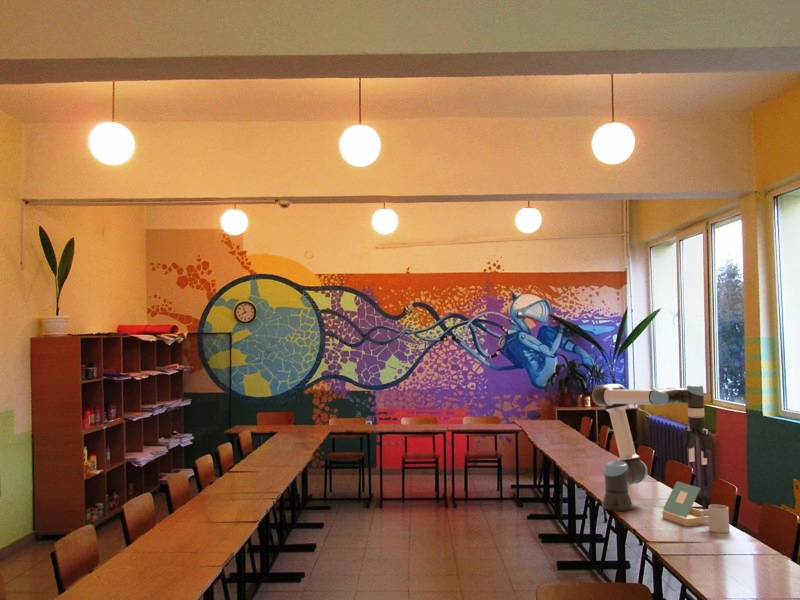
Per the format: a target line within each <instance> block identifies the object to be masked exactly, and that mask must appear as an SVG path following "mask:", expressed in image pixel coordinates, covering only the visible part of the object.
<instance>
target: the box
mask: <svg viewBox="0 0 800 600" xmlns="http://www.w3.org/2000/svg"><path fill="white" fill-rule="evenodd" d="M661 511H662V513H661V514H662V518H663V519H665V520H668V521H671V522H673V523H676V524H679V525H682V526H684V527H687V528H689V527H695V526H703V525H705V524H704V523H702V520H701V512H702V511H703V510H700V509H698V508H695V507H691V509H690V511H689V513H688V515H687V517H686V518H685V517H682V516H679V515H677V514H674V513H671V512H668V511H665V510H663V509H662V510H661ZM703 519H704V521H709V513H704V515H703Z"/></svg>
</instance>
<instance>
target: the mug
mask: <svg viewBox="0 0 800 600" xmlns="http://www.w3.org/2000/svg"><path fill="white" fill-rule="evenodd" d="M701 511H702V512H701V520H702V523H704V525H707V526H708V529H709V531H710V532H712V533H716V534H728V533H729V532H730V517H729V516H730V513H729V506H727V505H723V504H715V503H714V504H712V503H711V504H709V505H708V508H706V509H702V510H701ZM704 513H709V521H704V519H703V515H704Z"/></svg>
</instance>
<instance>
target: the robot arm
mask: <svg viewBox="0 0 800 600" xmlns="http://www.w3.org/2000/svg"><path fill="white" fill-rule="evenodd" d="M591 399H592V400H593V402H594V403H595V405H597V406H599V407H604V409H605V411H606V412H608V413H609V418H610V422H611V426H612V429H613V434H614V439H615V442H616V446H617V447H616V448H617V450H618V455H619V457H618V459H617V460H612V461H608V462H607V463H605V465H604V472H603V473H604V488H605V489H604V495H603V500H602V502H601V506H602V508H603V509H604V510H608V511H614V512H628V511H631V510H633V502H632V500H631V496H630V494H629V486H630V485H634V484H639V483H642V482H643V481H645V480H646V477H647V476H648V467H647V465H646V463H644V461H642V460H641V456H640V455H638V454H637V453H636V448H635V444H634V440H633V435H632V432H631V429H630V423H629V420H628V416H627V412H626V409H627V407H628V405H652V406H653V405H654V406H657V407H658V406H660V407H661V406H665V405H672V404H685V405H686V404H687V415H688V417H687V420H688V421H687V422H688V425H689V426H685V427H684V431H685V435H684V446H685V447H687V454H688V459H689V460H688V461H689V462H690V463H692V462H695V461H696V459H695V457H696V456H695V448H694V444H695V441H696V438H697V439H698V440H699V444H700V447H701V450H700V454H701V455H700V456H701V466H702V465H703V466H705V465H708V451H711V450H712V449H711V440H710V430H709V429H706V428H705V426H704V425H705V424H706V420H705V419H706V418H705V391H704V386H703V385H701V384H687V386H686V388H680V387H666V388H664V389H627V388H626V387H625V386H624V385H622V384H620V383H609V384H599V385H597V386H595V388H594V389H593V390H592V393H591Z"/></svg>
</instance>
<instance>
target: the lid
mask: <svg viewBox="0 0 800 600" xmlns="http://www.w3.org/2000/svg"><path fill="white" fill-rule="evenodd" d="M700 491H701V487H699V486H695V485H691V484H688V483H685V482H681V481H676V482H675V484H674V486H673V488H672V490H671V492H670V494H669V496H668V498H667V501H665V502H666V503H665V504H664V506H663V508H662V511H663V510H665V511H668V512H671V513H674V514H677V515H679V516H682V517H685V518H686V517H687V515H688V513H689V511H690V509H691V508H693V505H694V503H695V501H696V499H697V497H698V495H699V493H700Z"/></svg>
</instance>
